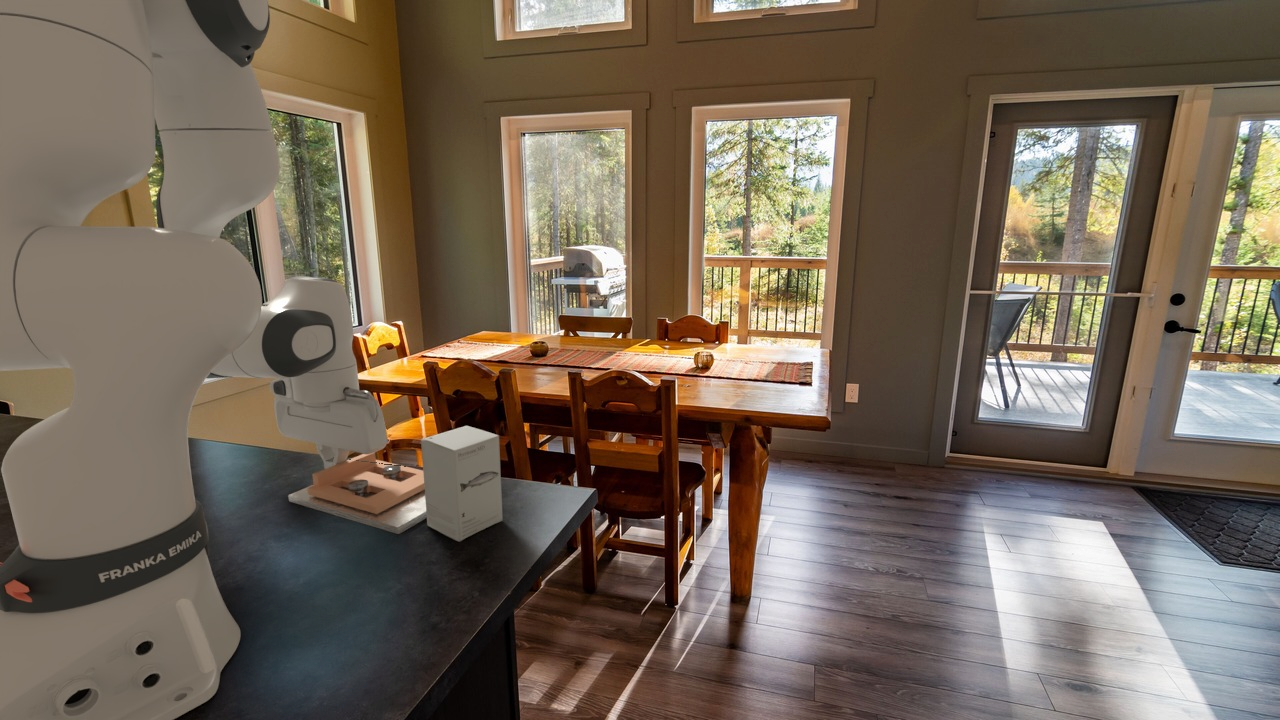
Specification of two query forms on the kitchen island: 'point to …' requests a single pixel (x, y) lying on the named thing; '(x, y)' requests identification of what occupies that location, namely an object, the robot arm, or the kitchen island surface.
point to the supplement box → (462, 481)
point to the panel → (380, 484)
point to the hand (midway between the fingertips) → (335, 470)
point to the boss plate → (388, 520)
